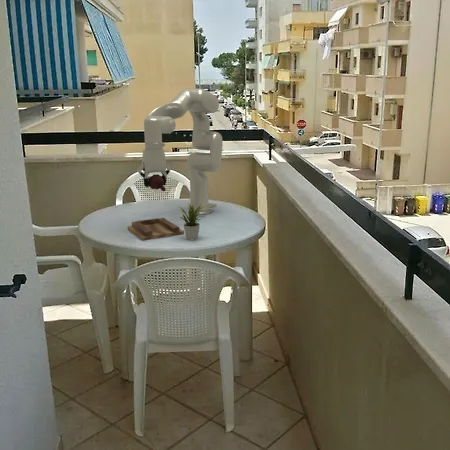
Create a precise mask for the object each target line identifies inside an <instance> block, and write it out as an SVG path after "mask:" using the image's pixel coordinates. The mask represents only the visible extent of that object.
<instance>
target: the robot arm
mask: <svg viewBox="0 0 450 450" xmlns="http://www.w3.org/2000/svg"><path fill="white" fill-rule="evenodd" d="M219 107H220V102H219V99H218V97H217V96H216V95H214V94H213V93H211V92H210V91H209V90H206V89H203V88H183V89H182V90H181V91H180V92H179V93H178V94H177V95H176V96H175V97H174V98H173V99H172V100H171V101H170V102H168V103H164V104H163V105H161V106H158V107H157V108H155V109H152V111H150V112H149V114H148V115H147V116H146V117H145V118H144V121H143V131H144V133H143V134H144V149H143V150H142V158H141V165H140V166H139V167H137V169H136V171H137V173H138V174H139V176H141V177H142V178H143V186H144V187H145V188H150V187H149V180H148V177H149V175H150V173H152V174H153V173H161V175H160V176H161V177H162V178H163V180H164V185H163V186H164V187H165V186H166V185H167V177H168V175H169V174H170V172H171V171H172V168H173V167H172V166H171V165H170V164H169V163H167V159H166V154H165V150H164V147H165V146H166V143H165V142H163V136H162V135H163V134H172V133H173V132H174V131H175V129H176V126H177V125H176V124H177V123H176V121H175V120H176V119H180V118H182V117H184V115H185V114H186V113H187V112H189V113H190V116H191V118H192V121H193V122H192V123H193V124H192V139H191V142H192V144H191V145H192V148H194V149H195V150H199V152H198V151H197V152H196V151H195V152H194V151H193V152H191V153H190V154H188V157H187V161H186V163H187V167H188V173H189V196H190V198H189V199H190V201H189V204H191V206H192V203H193V205H194V209H195V210H196V208H198V206H199V205H201V204H202V205H201V206H202V207H203V208H202V207H200V208H202V209H201V210H200V209H199V210H200V211H201V212H200V211H199V210H198V211H199V213H198V214H199V215H198V214H197V215H198V216H203V215H207V214H208V215H209V214H210V212H211V213H212V208H217V207H218V206H217V203H210V202H209V178H208V175H207V173H206V172H208V173H216V172H217V173H218V171H219V170H220V169H221V166H222V165H221V164H222V155H223V136H222V134H221V133H220V132H217V131H210V129H211V128H210V127H211V126H210V125H211V121H210V119H209V116H208V115H207V114H214V113H216V112H218V110H219ZM200 150H201V152H200ZM202 151H210V152H202ZM142 171H143V172H142ZM204 206H206V207H204ZM195 210H194V212H195ZM202 210H203V211H202ZM188 212H189V208H188V209H187V213H188ZM202 214H203V215H202Z"/></svg>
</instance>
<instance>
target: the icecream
mask: <svg viewBox="0 0 450 450" xmlns="http://www.w3.org/2000/svg"><path fill="white" fill-rule="evenodd" d="M161 176H162V175H160V174H152V175H151V176H148V177H147V178H148V181H149V187H148V188H150V189H152V190H161V191H162V192H166V187H165V186H164V180H163V178H162V177H161Z"/></svg>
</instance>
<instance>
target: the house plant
mask: <svg viewBox="0 0 450 450" xmlns="http://www.w3.org/2000/svg"><path fill="white" fill-rule="evenodd" d="M188 205H189V206H188V209H189V212H188V211H187V212H186V211H185V210H184V208H182V207H181V206H180V205H178V207H179V208H180V210H181V212H182V216H180V217H179V218H180V220H183V221H184V222H185V223H184V224H183V228H184V234H185V238H187V239H186V240H189V239H194V240H197V239H198V238H199V232H200V225H201V224H200V223H199V222H200V220H201V219H202V218H205V215H199V214H198V213H199V211H200V210H201V209H202V208H203V207H202V206H201V205H202V204H201V205H199V206H198V208H196V210H195V209H194V205H193V203H192V206H191V204H190V203H188ZM200 207H202V208H200ZM204 207H206V206H204ZM199 209H200V210H199ZM194 210H195V212H194ZM198 210H199V211H198ZM202 211H203V210H202ZM200 212H201V211H200ZM187 213H188V214H187ZM197 214H198V215H197ZM196 238H197V239H196Z"/></svg>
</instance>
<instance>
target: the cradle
mask: <svg viewBox="0 0 450 450" xmlns="http://www.w3.org/2000/svg"><path fill="white" fill-rule="evenodd" d="M127 231H129V232H130V233H132V234H133V235H134V236H135V237H137V238H138V239H139V240H140V241H142V242H143V241H149V240H156V239H161V238H163V239H164V238H170V237H175V236H182V235H184V234H185V230H183V229H182V228H180V226H178V225H177V224H175V223H173V222H171V221H170V220H168V219H167V218H165V217H160V218H150V219H143V220H142V219H141V220H137V221H132V222H131V225H129V226H127Z"/></svg>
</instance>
